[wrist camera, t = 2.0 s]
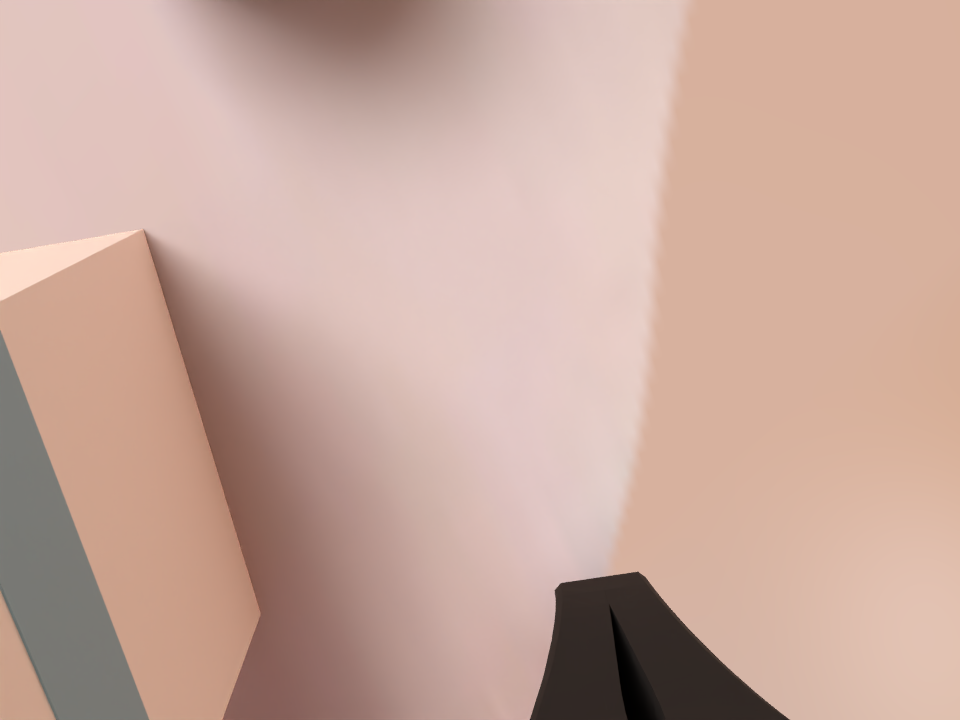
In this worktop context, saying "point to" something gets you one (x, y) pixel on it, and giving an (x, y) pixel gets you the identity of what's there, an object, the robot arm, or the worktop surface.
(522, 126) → the worktop surface
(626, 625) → the robot arm
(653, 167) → the worktop surface
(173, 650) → the milk carton
